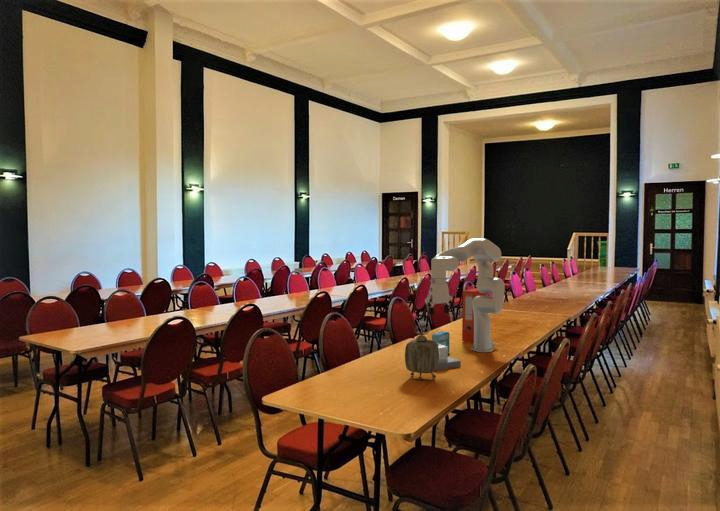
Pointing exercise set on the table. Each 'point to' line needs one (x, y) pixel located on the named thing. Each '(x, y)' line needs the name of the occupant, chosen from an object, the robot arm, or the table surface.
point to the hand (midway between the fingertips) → (439, 314)
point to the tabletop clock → (421, 355)
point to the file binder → (469, 314)
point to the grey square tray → (448, 364)
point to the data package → (441, 338)
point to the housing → (443, 352)
